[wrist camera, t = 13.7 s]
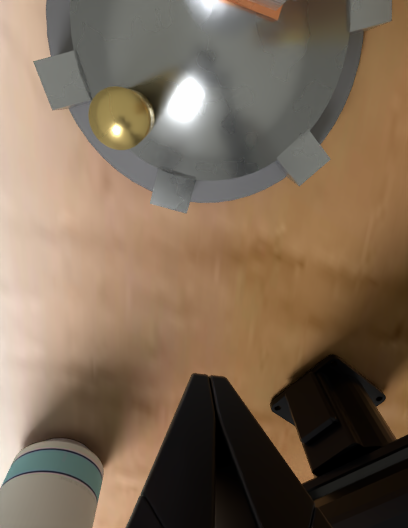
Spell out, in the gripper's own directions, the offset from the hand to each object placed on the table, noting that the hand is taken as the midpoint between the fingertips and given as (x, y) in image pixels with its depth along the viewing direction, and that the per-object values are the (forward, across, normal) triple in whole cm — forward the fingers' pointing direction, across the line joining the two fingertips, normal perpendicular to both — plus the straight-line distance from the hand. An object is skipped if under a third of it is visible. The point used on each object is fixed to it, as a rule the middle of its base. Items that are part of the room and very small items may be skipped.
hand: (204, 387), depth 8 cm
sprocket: (+12, +1, -8) cm, 15 cm away
